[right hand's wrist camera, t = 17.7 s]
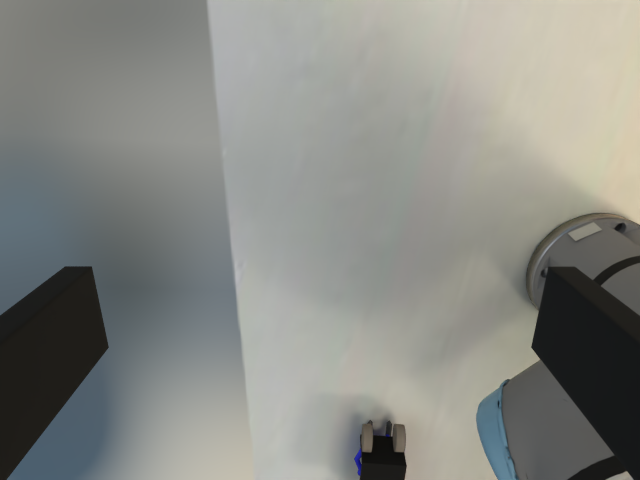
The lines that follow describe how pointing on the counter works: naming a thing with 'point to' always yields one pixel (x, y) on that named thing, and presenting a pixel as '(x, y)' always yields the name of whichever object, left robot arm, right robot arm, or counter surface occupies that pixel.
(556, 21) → the counter surface
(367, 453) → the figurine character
